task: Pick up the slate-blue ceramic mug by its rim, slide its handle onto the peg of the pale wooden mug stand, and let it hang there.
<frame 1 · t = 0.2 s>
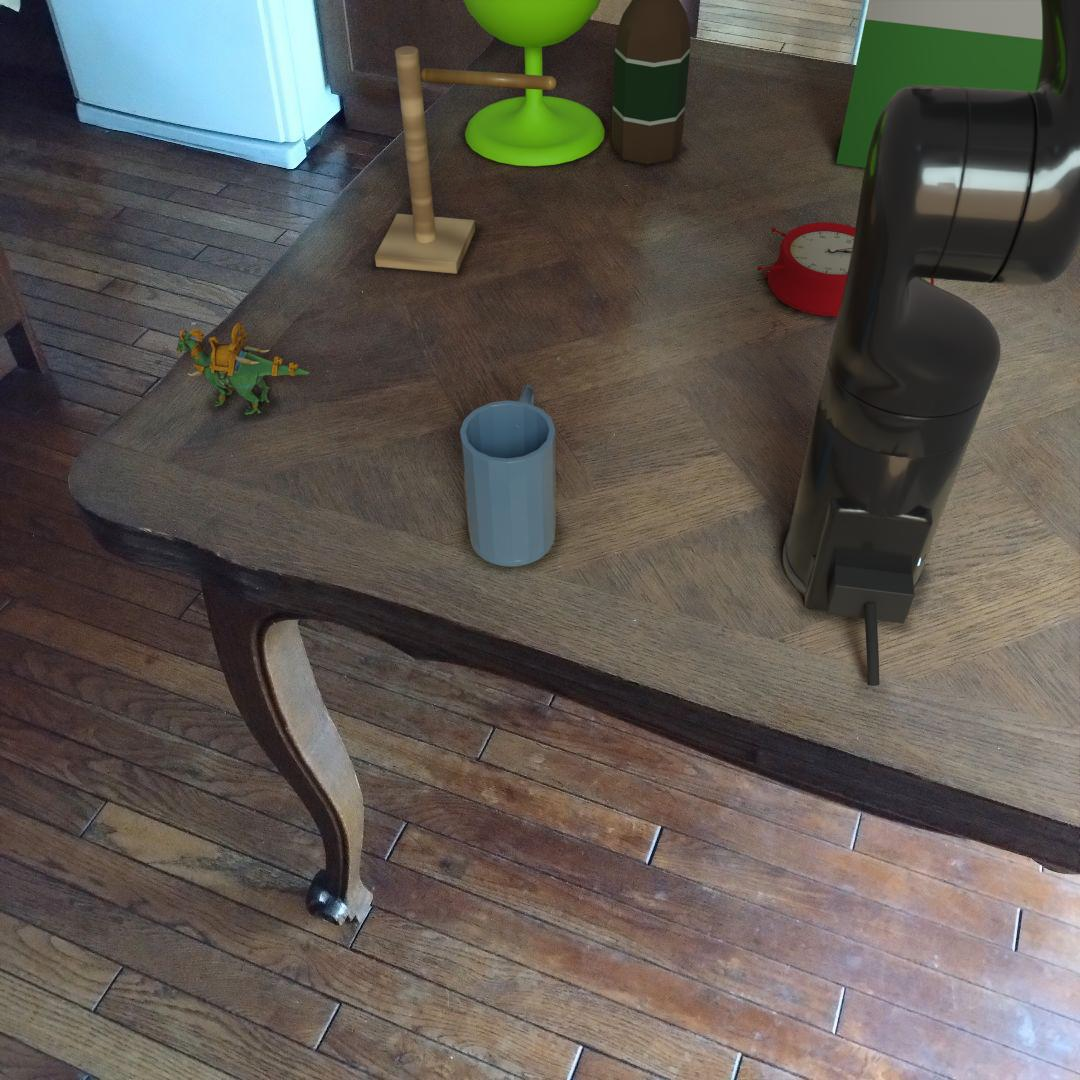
hardback book: (922, 161, 115), on the table
beer bottle: (646, 150, 118), on the table
figurine: (254, 407, 88), on the table
mug stand: (426, 248, 104), on the table
mug: (512, 535, 77), on the table
wineglass: (534, 134, 121), on the table
alarm clock: (841, 292, 98), on the table
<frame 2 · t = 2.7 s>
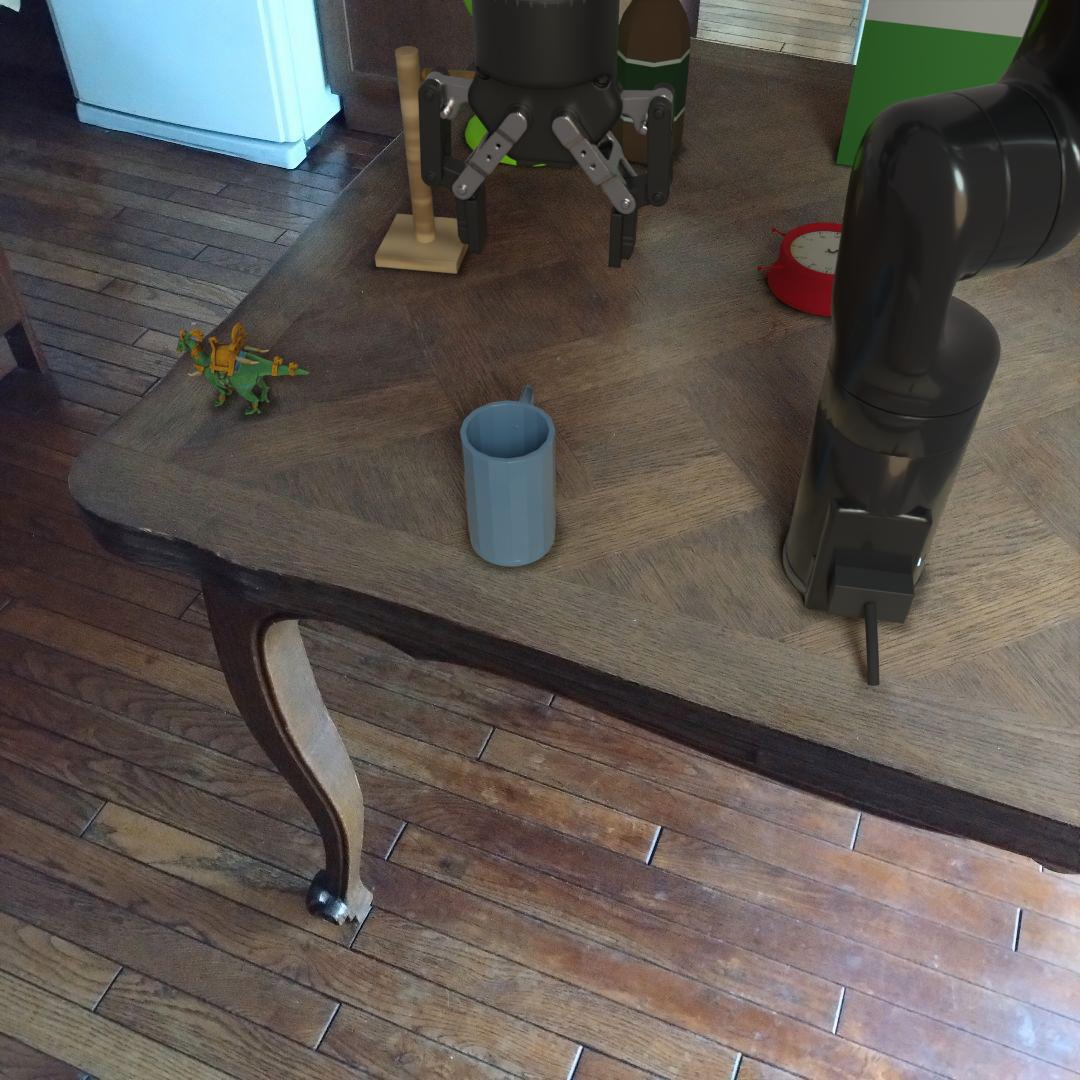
hand: (547, 254, 64), 21 cm above the table, tool pointing down, fingers open, 8 cm apart
nothing on the table moved.
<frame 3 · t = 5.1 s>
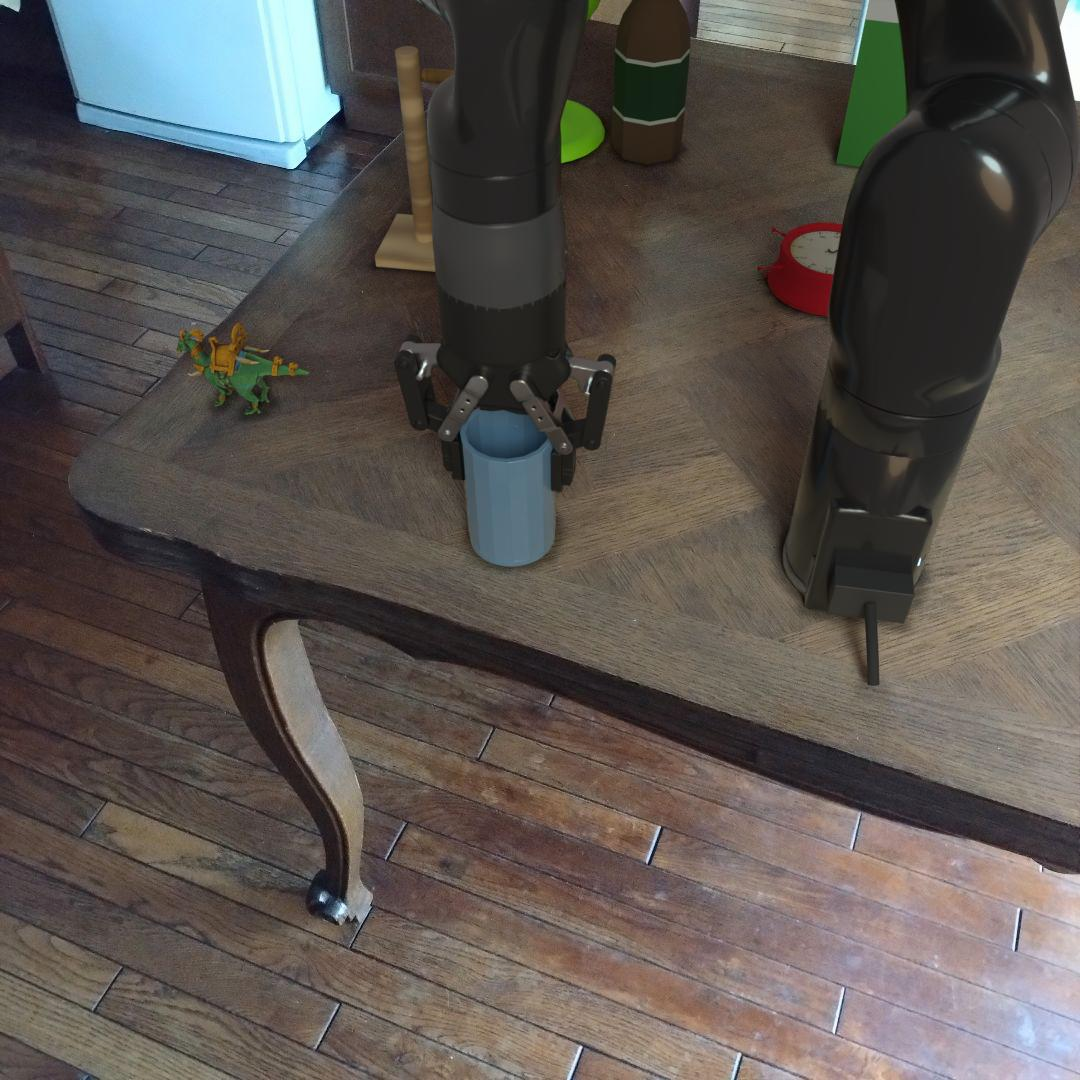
hand: (510, 477, 73), 6 cm above the table, tool pointing down, fingers closed on mug, 6 cm apart
mug: (512, 535, 77), on the table, touching gripper
everything else where it was.
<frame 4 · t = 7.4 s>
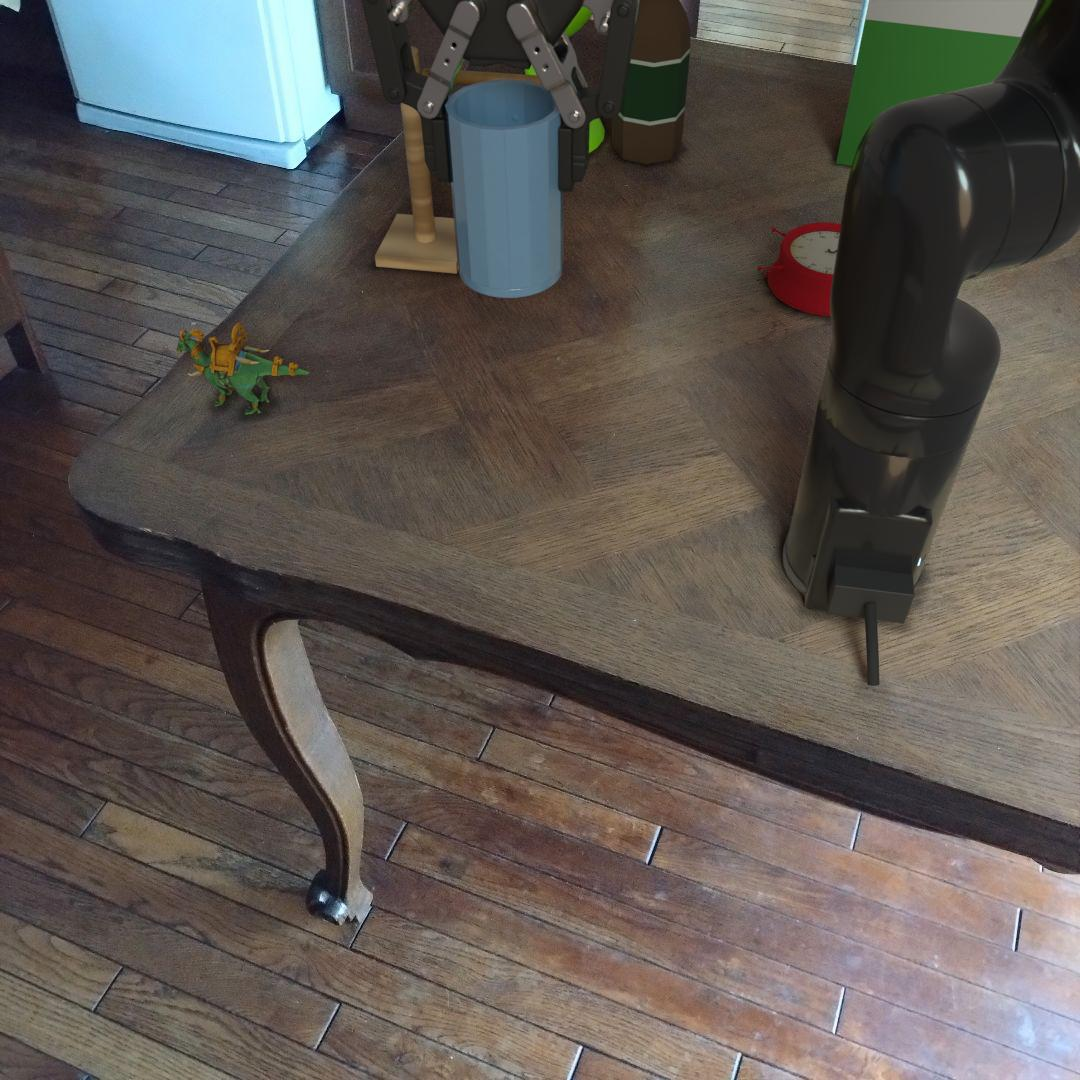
hand: (508, 179, 59), 27 cm above the table, tool pointing down, fingers closed on mug, 6 cm apart
mug: (510, 269, 63), point 21 cm above the table, touching gripper
everything else where it was.
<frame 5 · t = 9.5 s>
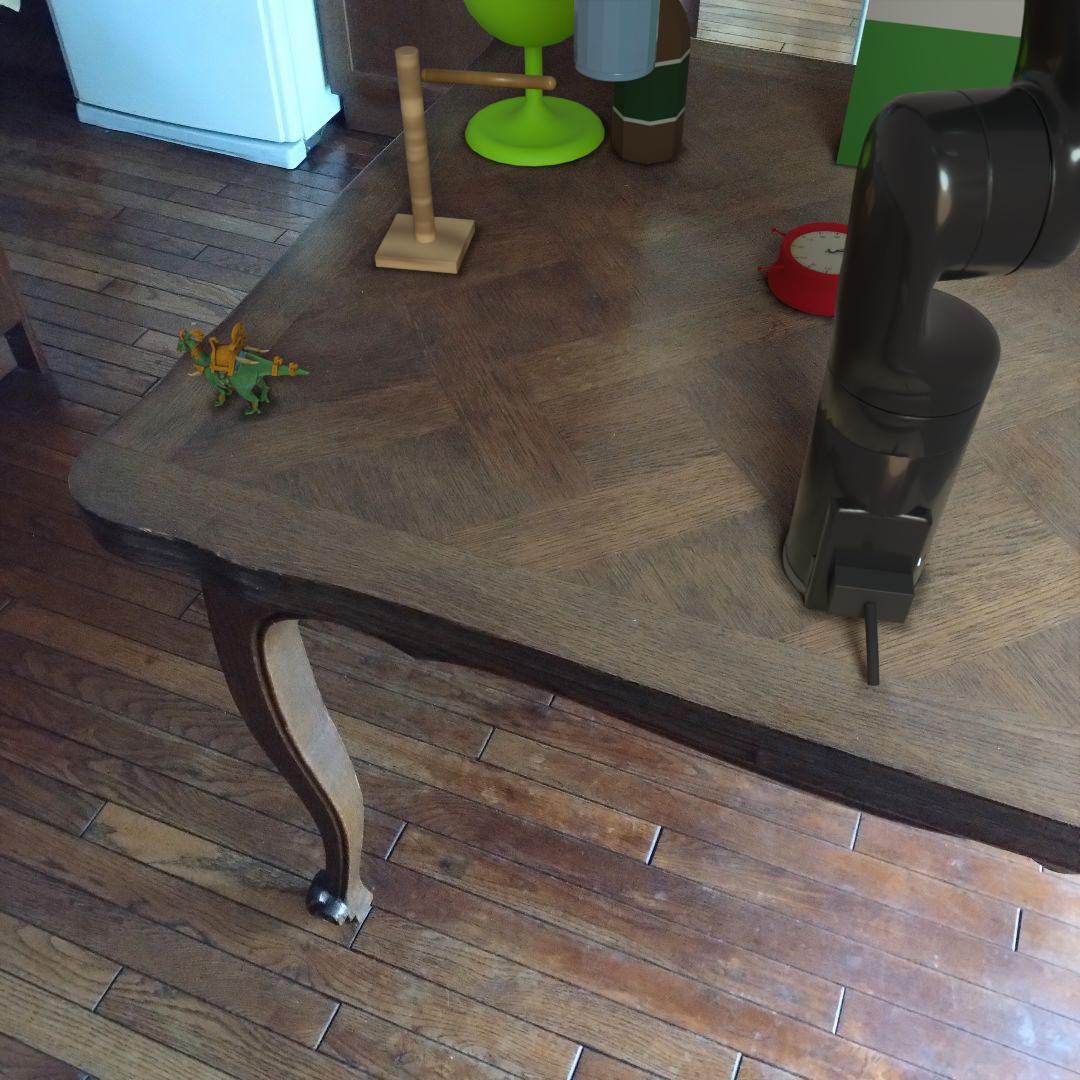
mug: (614, 64, 81), point 22 cm above the table, touching gripper
everything else where it was.
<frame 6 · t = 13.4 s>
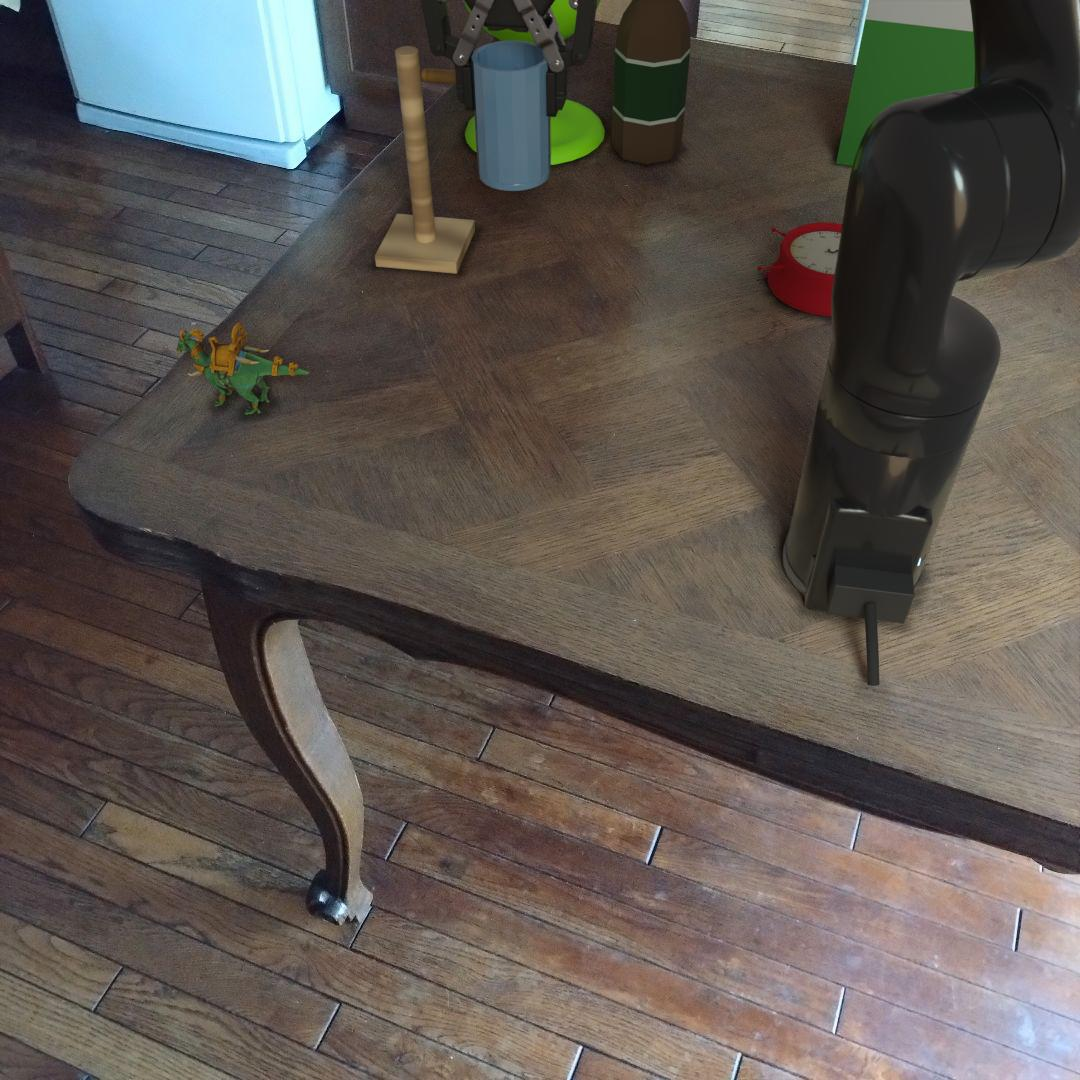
hand: (512, 109, 88), 17 cm above the table, tool pointing down, fingers closed on mug, 6 cm apart
mug: (514, 173, 92), point 11 cm above the table, touching gripper
everything else where it was.
when the fingers open (16 cm above the table, at t = 14.3 s): mug drops 2 cm and tips over, resting on mug stand.
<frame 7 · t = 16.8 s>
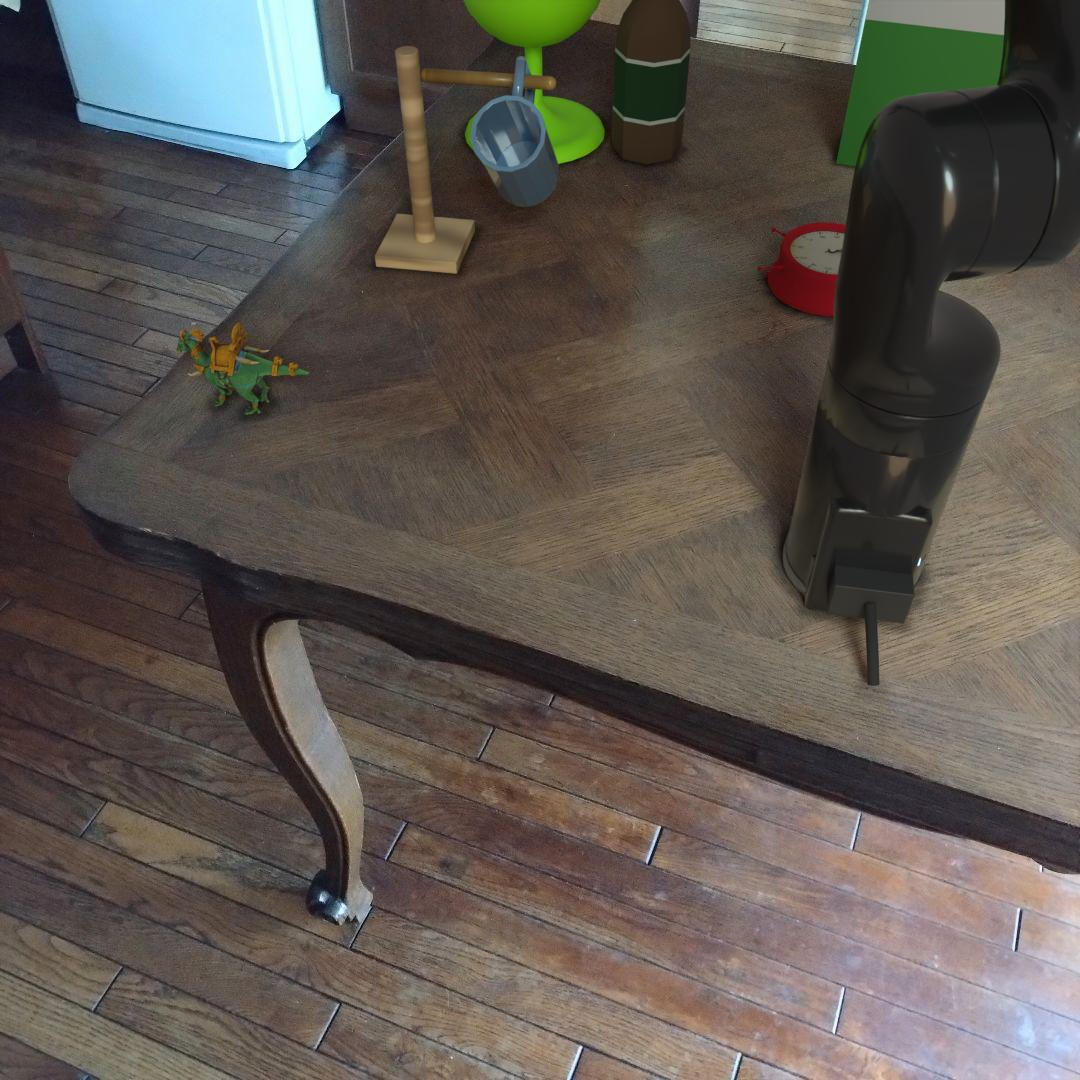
mug: (525, 173, 97), point 8 cm above the table, tilted 45°, touching mug stand
everything else where it was.
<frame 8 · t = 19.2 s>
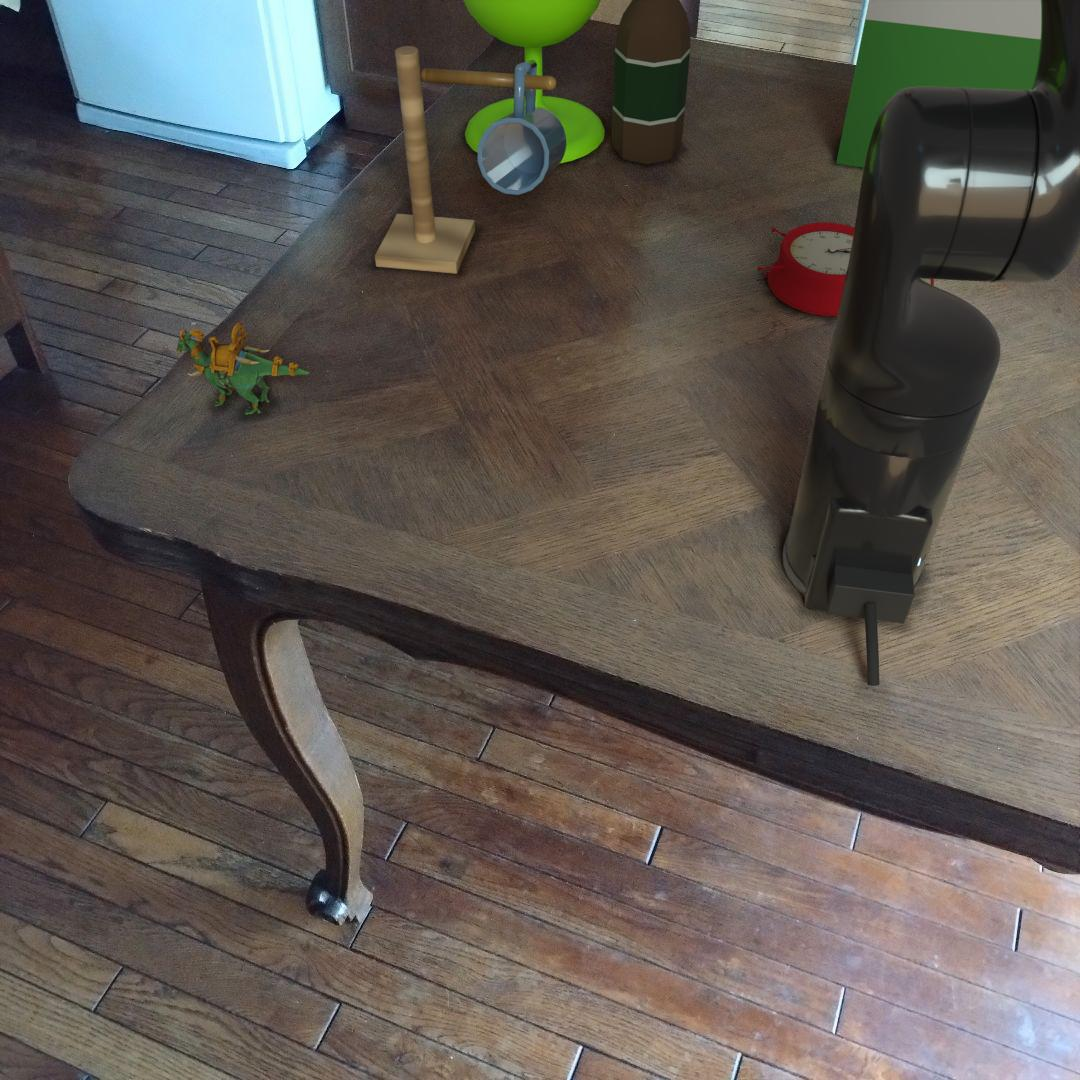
mug: (533, 141, 99), point 9 cm above the table, tilted 71°, touching mug stand
everything else where it was.
at the end: mug inside the target area on the mug stand (7.1 cm from its centre), point 9.4 cm above the mug stand's base; mug touching mug stand; the gripper is holding nothing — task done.
